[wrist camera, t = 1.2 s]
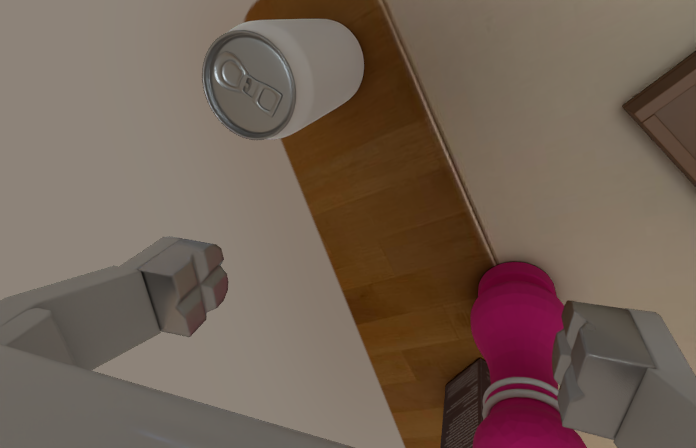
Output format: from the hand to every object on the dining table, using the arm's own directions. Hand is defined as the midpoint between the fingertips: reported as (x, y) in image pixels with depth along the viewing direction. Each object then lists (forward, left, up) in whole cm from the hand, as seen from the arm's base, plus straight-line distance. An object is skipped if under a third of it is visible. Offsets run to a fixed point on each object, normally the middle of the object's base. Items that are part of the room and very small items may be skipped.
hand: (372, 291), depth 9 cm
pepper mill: (+16, -7, -24) cm, 30 cm away
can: (-9, -5, -24) cm, 26 cm away
